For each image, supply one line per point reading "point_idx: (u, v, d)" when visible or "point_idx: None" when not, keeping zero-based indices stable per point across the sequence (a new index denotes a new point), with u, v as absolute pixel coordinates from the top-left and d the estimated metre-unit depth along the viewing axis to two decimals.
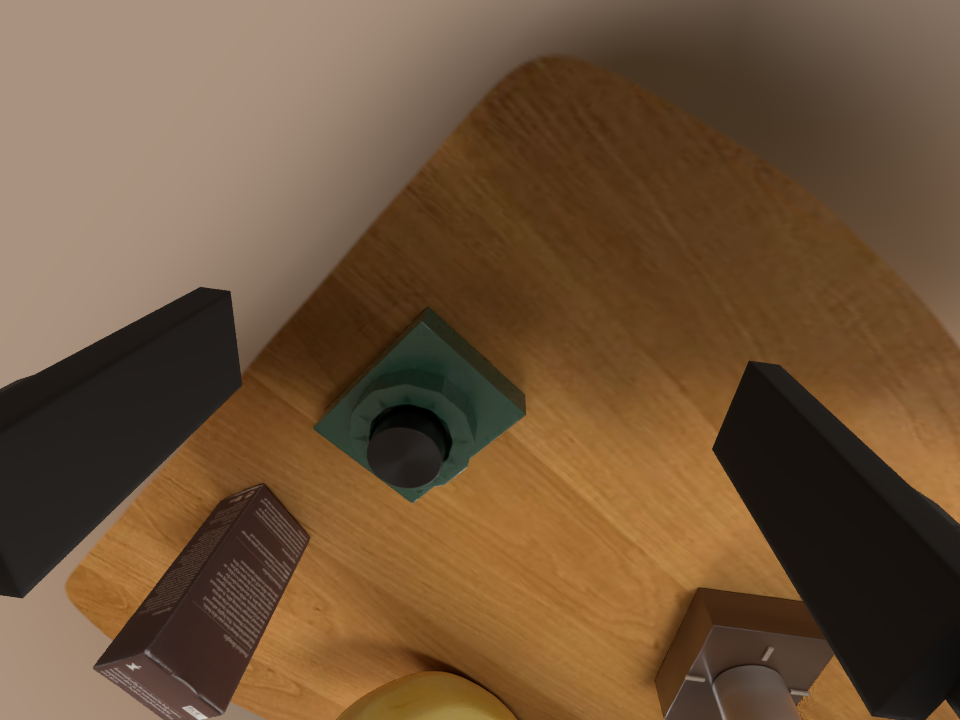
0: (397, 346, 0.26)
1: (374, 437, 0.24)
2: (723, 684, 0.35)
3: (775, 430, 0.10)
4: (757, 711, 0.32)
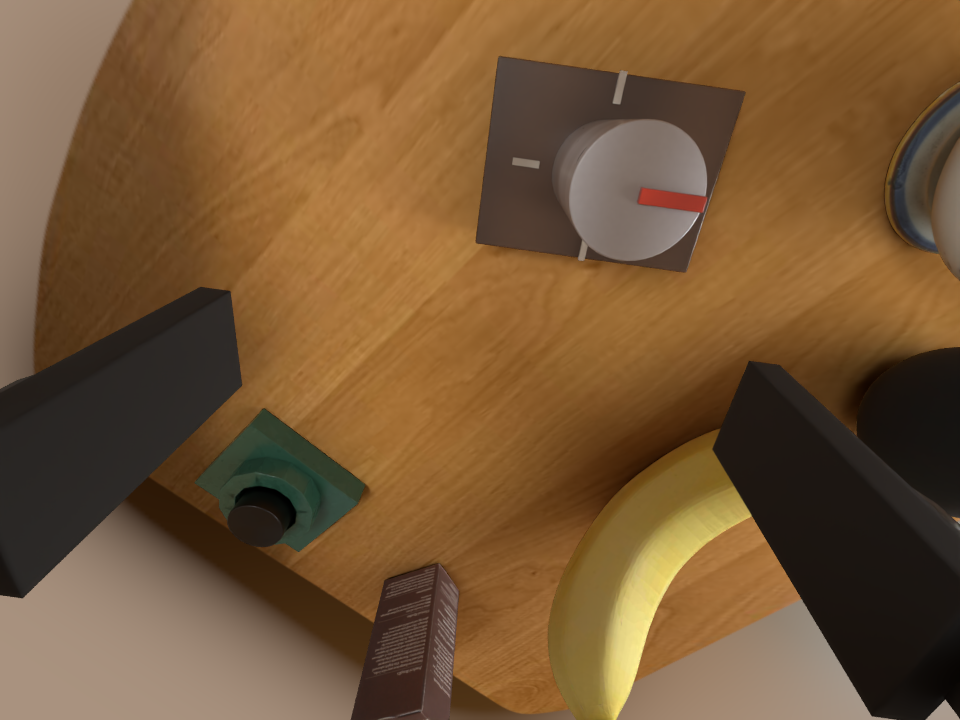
0: (217, 497, 0.38)
1: (241, 540, 0.35)
2: None
3: (775, 430, 0.10)
4: (560, 203, 0.23)
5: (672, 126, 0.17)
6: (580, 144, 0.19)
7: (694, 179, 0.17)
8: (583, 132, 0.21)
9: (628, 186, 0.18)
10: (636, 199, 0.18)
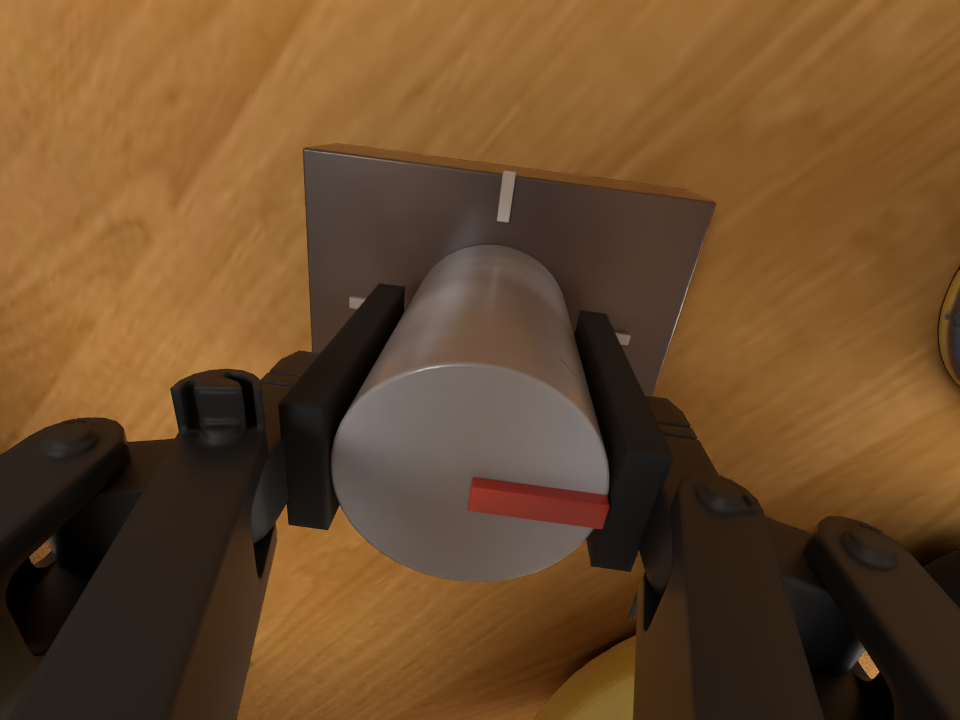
0: None
1: None
2: None
3: (583, 363, 0.12)
4: None
5: (520, 377, 0.07)
6: (383, 349, 0.10)
7: (581, 467, 0.08)
8: (421, 295, 0.12)
9: (447, 474, 0.08)
10: (467, 495, 0.09)
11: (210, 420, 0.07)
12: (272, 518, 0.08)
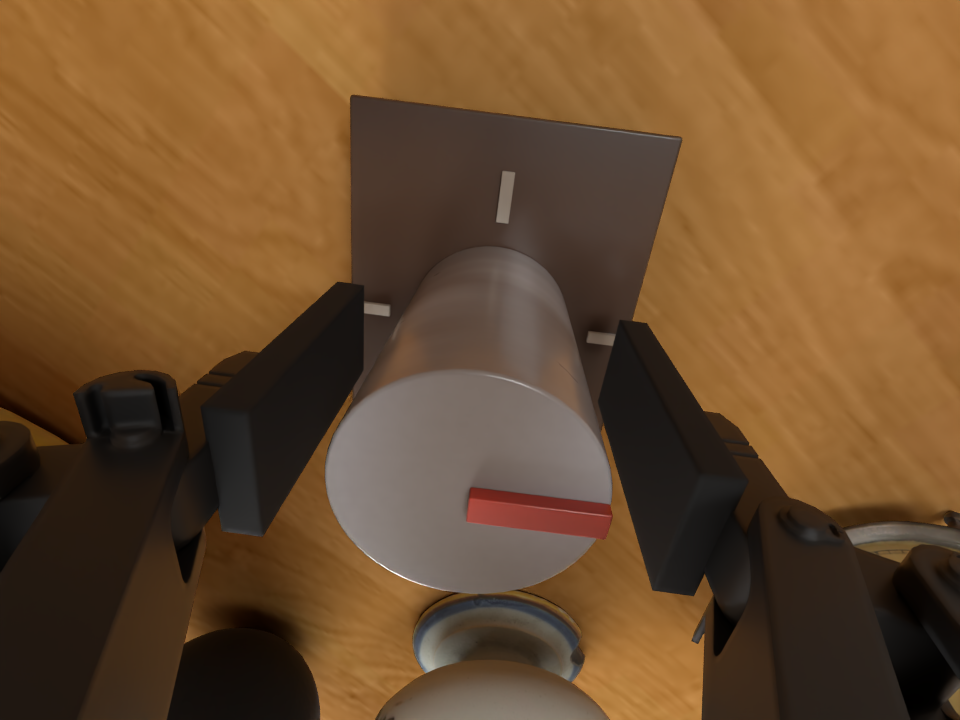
0: None
1: None
2: None
3: (627, 375, 0.12)
4: None
5: (517, 385, 0.07)
6: (379, 356, 0.10)
7: (583, 476, 0.08)
8: (417, 299, 0.12)
9: (444, 485, 0.08)
10: (466, 505, 0.08)
11: (122, 424, 0.07)
12: (197, 525, 0.08)
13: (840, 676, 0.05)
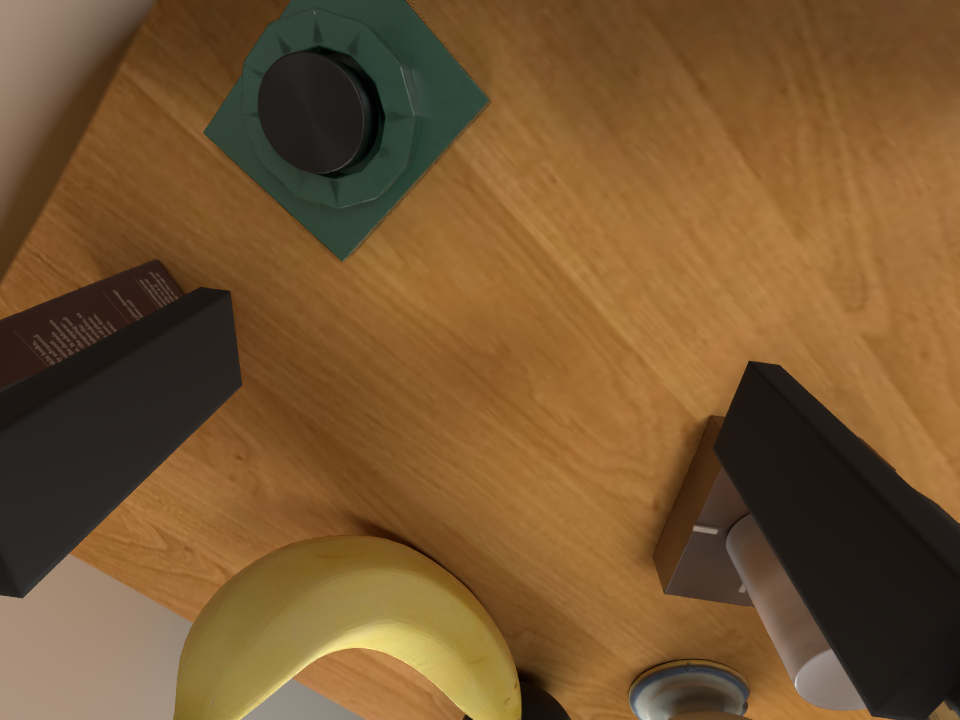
0: None
1: (266, 73, 0.17)
2: None
3: (775, 430, 0.10)
4: (748, 593, 0.26)
5: None
6: (794, 605, 0.23)
7: None
8: None
9: None
10: None
11: None
12: None
13: None
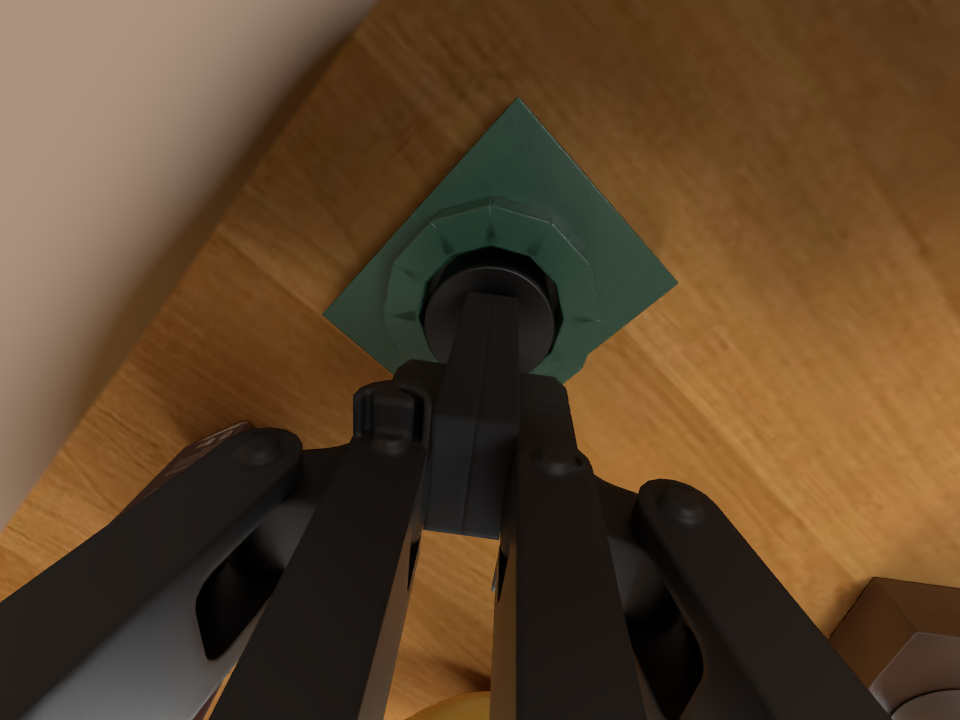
0: (471, 151, 0.15)
1: (440, 287, 0.14)
2: None
3: None
4: None
5: None
6: None
7: None
8: None
9: None
10: None
11: (381, 429, 0.07)
12: (421, 524, 0.08)
13: (571, 594, 0.05)
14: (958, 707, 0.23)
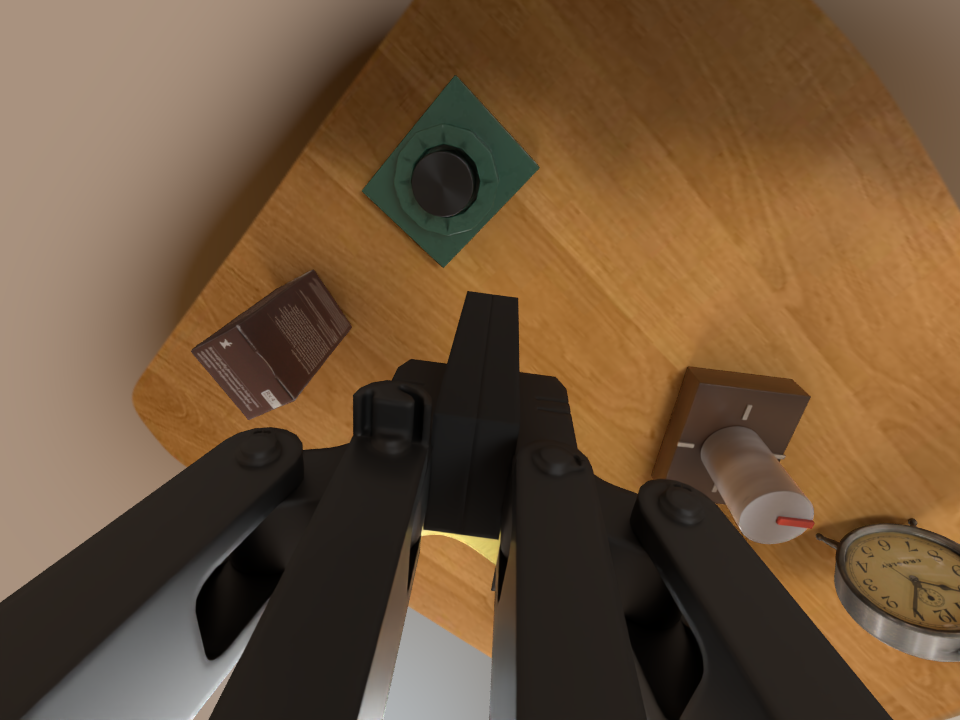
0: (434, 101, 0.32)
1: (418, 163, 0.30)
2: None
3: None
4: (714, 482, 0.39)
5: (797, 494, 0.33)
6: (739, 479, 0.35)
7: (807, 513, 0.34)
8: (733, 455, 0.37)
9: (772, 515, 0.34)
10: (775, 520, 0.34)
11: (381, 429, 0.07)
12: (422, 524, 0.08)
13: (571, 594, 0.05)
14: (730, 432, 0.39)
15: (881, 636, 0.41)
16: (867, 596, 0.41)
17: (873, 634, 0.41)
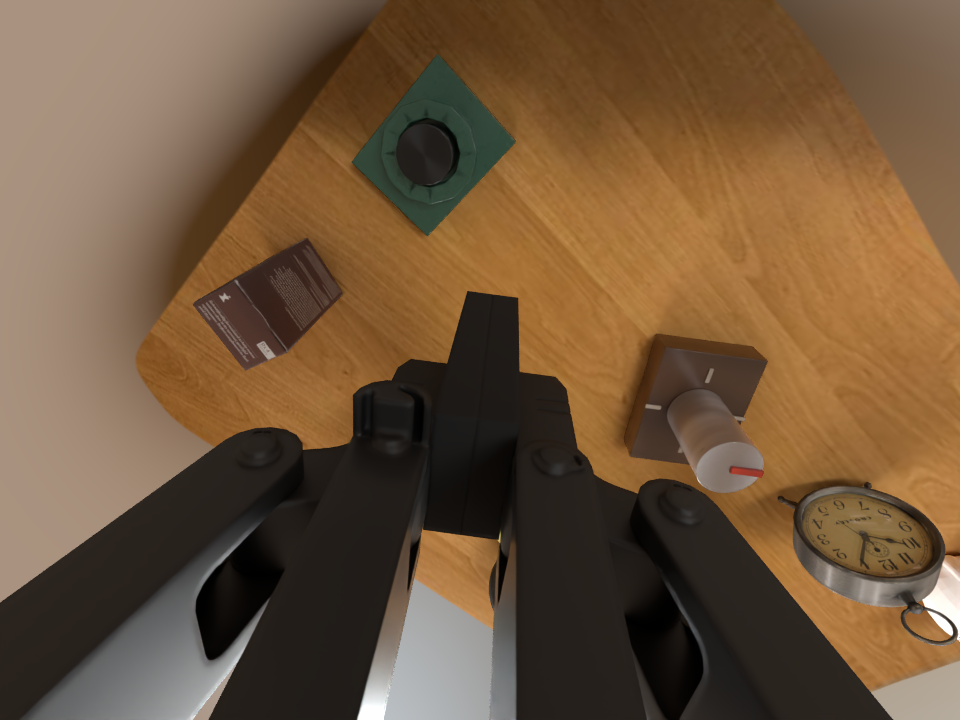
0: (418, 78, 0.34)
1: (402, 134, 0.33)
2: None
3: None
4: None
5: (748, 445, 0.36)
6: (697, 433, 0.39)
7: (757, 463, 0.37)
8: (694, 413, 0.40)
9: (725, 465, 0.37)
10: (729, 470, 0.37)
11: (381, 429, 0.07)
12: (422, 524, 0.08)
13: (571, 594, 0.05)
14: (693, 394, 0.42)
15: (831, 585, 0.44)
16: (819, 549, 0.45)
17: (824, 584, 0.44)
